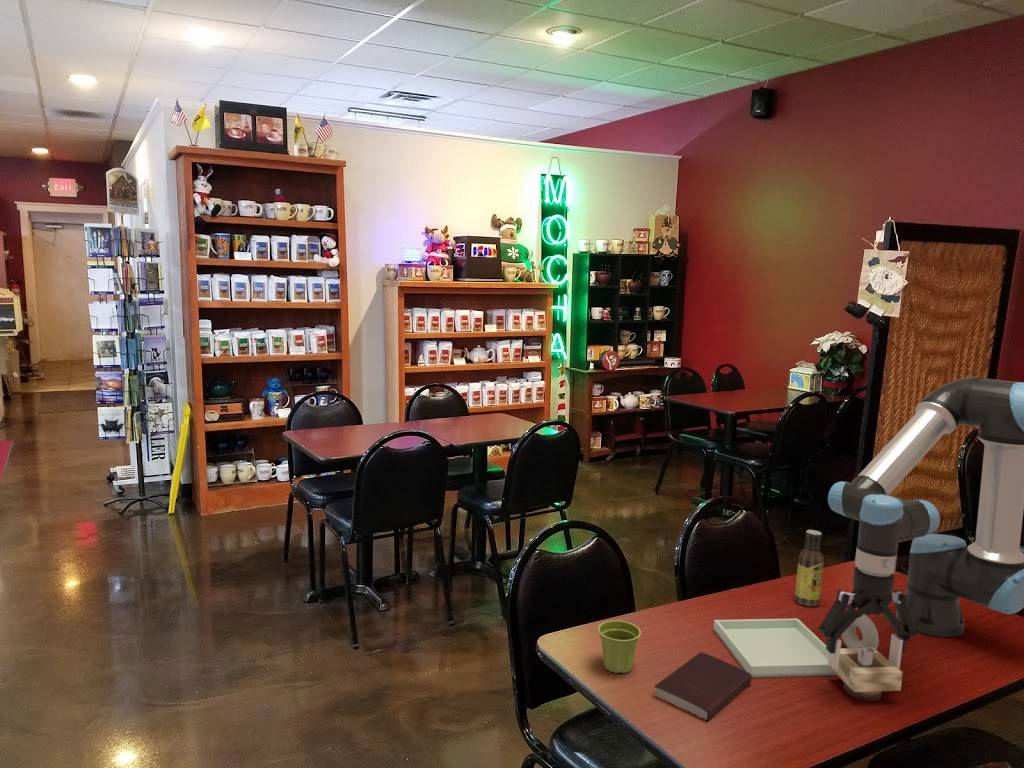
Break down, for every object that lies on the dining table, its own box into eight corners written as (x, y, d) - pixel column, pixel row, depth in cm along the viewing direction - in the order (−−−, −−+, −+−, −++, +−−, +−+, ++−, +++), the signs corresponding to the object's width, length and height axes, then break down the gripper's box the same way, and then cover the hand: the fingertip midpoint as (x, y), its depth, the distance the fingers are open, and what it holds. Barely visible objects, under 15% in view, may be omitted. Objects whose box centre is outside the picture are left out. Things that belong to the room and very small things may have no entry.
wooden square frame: (871, 664, 156) (873, 647, 155) (900, 690, 146) (902, 672, 146) (828, 665, 155) (829, 648, 154) (854, 691, 145) (856, 673, 145)
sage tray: (796, 628, 178) (797, 618, 178) (844, 675, 157) (845, 664, 157) (713, 629, 176) (714, 620, 176) (750, 677, 155) (751, 666, 155)
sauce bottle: (813, 610, 189) (820, 538, 186) (790, 602, 193) (796, 531, 190) (823, 602, 193) (829, 532, 191) (800, 595, 198) (806, 526, 195)
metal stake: (868, 681, 155) (872, 640, 154) (888, 700, 148) (893, 657, 146) (836, 682, 154) (840, 640, 153) (855, 701, 147) (860, 658, 146)
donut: (880, 663, 162) (884, 622, 161) (868, 665, 161) (872, 624, 160) (846, 642, 172) (850, 603, 170) (835, 644, 171) (839, 605, 169)
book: (751, 686, 152) (752, 672, 152) (707, 724, 138) (708, 709, 138) (699, 664, 161) (699, 650, 160) (652, 698, 147) (653, 683, 147)
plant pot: (587, 667, 157) (589, 630, 156) (610, 651, 164) (612, 616, 163) (624, 683, 151) (626, 645, 150) (646, 666, 158) (648, 629, 157)
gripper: (827, 577, 142) (816, 676, 145) (943, 577, 145) (930, 675, 148) (808, 562, 150) (798, 657, 152) (919, 563, 152) (907, 656, 155)
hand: (863, 666), depth 150 cm, fingers open, 13 cm apart
